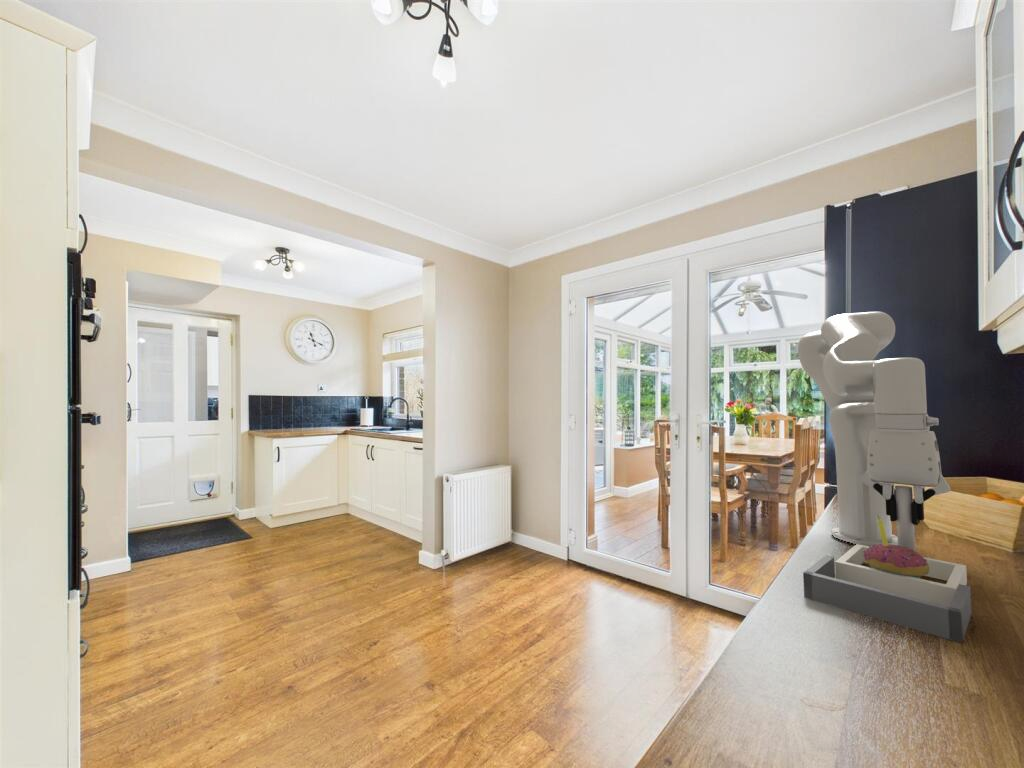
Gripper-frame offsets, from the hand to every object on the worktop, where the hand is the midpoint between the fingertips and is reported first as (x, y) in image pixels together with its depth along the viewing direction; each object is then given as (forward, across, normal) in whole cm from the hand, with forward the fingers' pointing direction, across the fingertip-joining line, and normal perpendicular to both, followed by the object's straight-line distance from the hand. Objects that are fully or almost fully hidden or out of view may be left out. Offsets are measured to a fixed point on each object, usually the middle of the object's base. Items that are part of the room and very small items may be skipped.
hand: (905, 520), depth 82 cm
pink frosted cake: (+10, 0, +10) cm, 14 cm away
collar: (+10, 0, +7) cm, 12 cm away
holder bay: (+10, 0, +19) cm, 21 cm away
